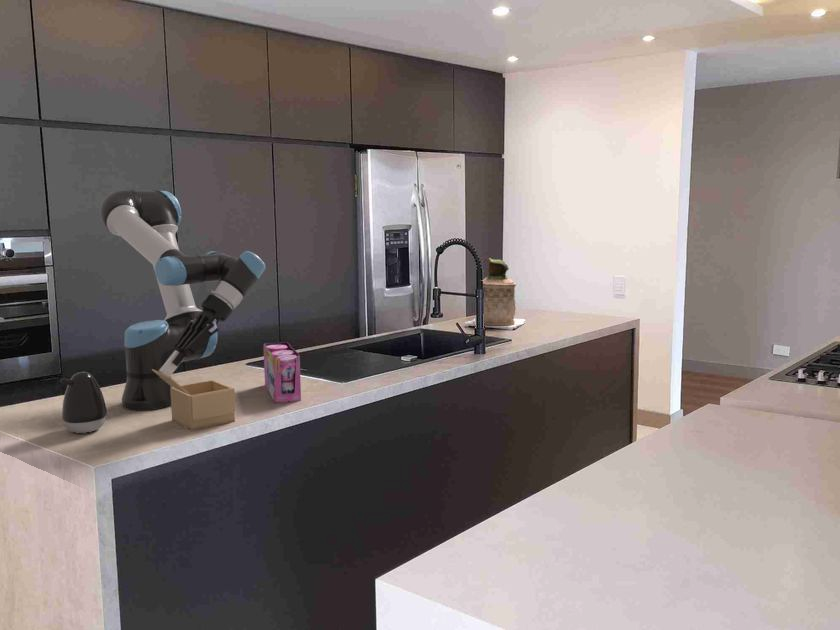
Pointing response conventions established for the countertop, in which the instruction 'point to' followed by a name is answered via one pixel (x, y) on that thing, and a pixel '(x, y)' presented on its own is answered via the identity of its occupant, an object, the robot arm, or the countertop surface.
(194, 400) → the carton
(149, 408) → the robot arm
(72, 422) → the pump dispenser
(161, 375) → the front flap
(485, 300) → the cookie jar
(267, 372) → the gum box
